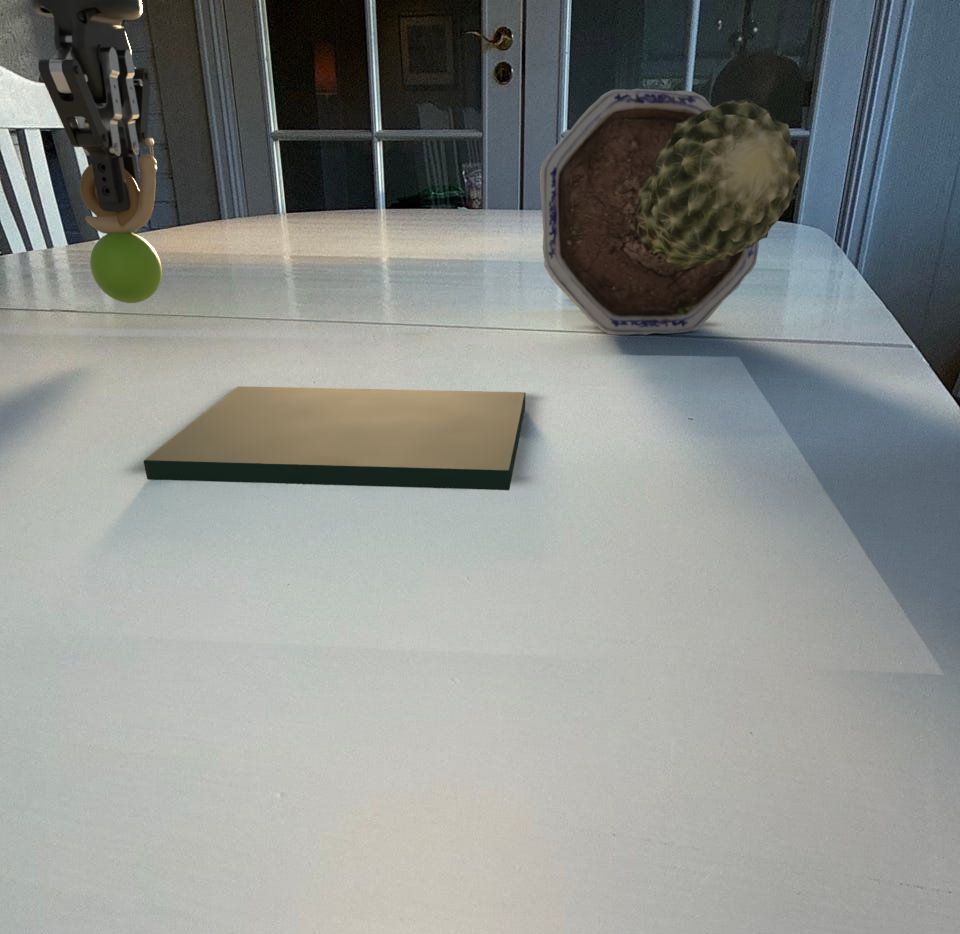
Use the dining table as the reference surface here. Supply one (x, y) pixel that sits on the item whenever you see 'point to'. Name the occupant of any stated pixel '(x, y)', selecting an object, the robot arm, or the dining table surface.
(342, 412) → the mat
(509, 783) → the dining table surface
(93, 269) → the snail figurine
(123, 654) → the dining table surface
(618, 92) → the potted plant
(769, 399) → the dining table surface
